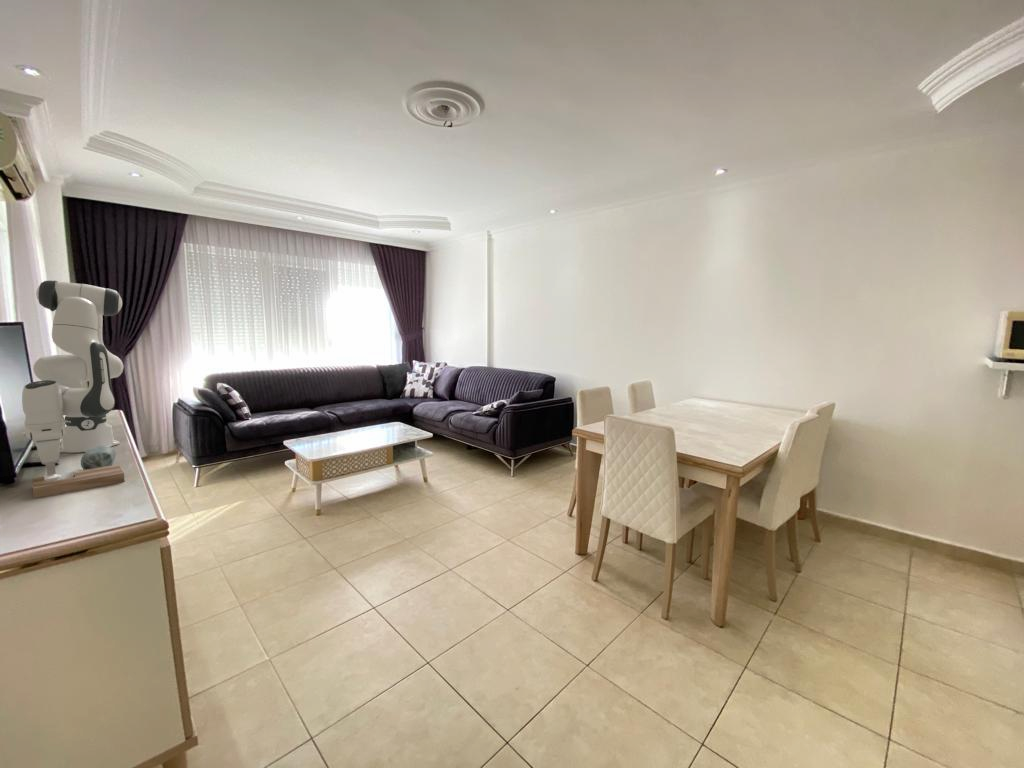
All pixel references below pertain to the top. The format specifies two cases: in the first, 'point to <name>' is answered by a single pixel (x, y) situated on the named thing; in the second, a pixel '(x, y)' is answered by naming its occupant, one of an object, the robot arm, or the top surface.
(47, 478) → the chess piece
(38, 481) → the notch board
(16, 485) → the top surface
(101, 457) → the yarn ball
